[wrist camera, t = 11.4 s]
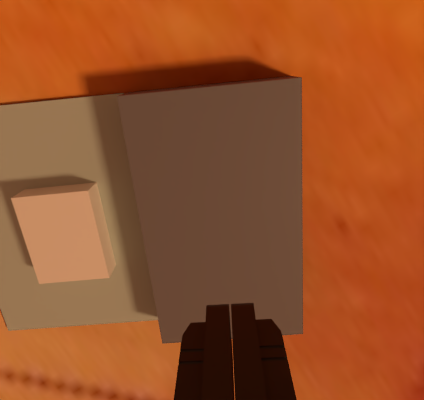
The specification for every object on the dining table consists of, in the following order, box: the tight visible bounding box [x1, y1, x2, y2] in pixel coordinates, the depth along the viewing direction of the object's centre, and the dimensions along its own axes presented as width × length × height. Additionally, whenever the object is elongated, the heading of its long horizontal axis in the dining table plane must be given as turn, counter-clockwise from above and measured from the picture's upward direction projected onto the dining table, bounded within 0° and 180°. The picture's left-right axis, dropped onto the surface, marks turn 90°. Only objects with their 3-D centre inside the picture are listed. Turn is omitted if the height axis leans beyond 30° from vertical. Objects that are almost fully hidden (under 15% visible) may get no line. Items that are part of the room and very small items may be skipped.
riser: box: [117, 76, 303, 343], centre depth 33 cm, size 24×14×4 cm, turn 5°
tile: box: [11, 182, 116, 284], centre depth 34 cm, size 9×7×2 cm
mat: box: [0, 93, 158, 331], centre depth 35 cm, size 24×18×1 cm
